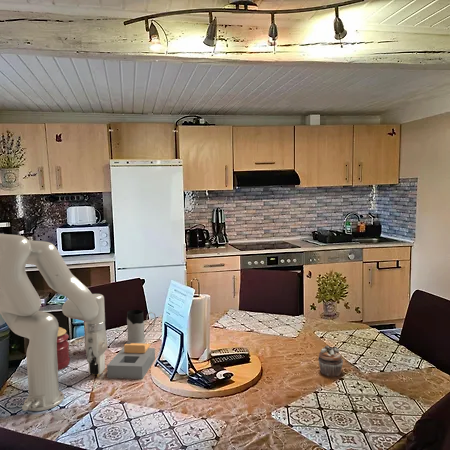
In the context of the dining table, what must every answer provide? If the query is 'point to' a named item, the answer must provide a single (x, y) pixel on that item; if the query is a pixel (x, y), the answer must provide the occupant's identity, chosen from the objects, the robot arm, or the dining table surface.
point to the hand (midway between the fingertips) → (97, 370)
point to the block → (100, 364)
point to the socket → (130, 364)
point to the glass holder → (136, 326)
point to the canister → (62, 349)
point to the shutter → (136, 348)
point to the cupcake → (330, 361)
